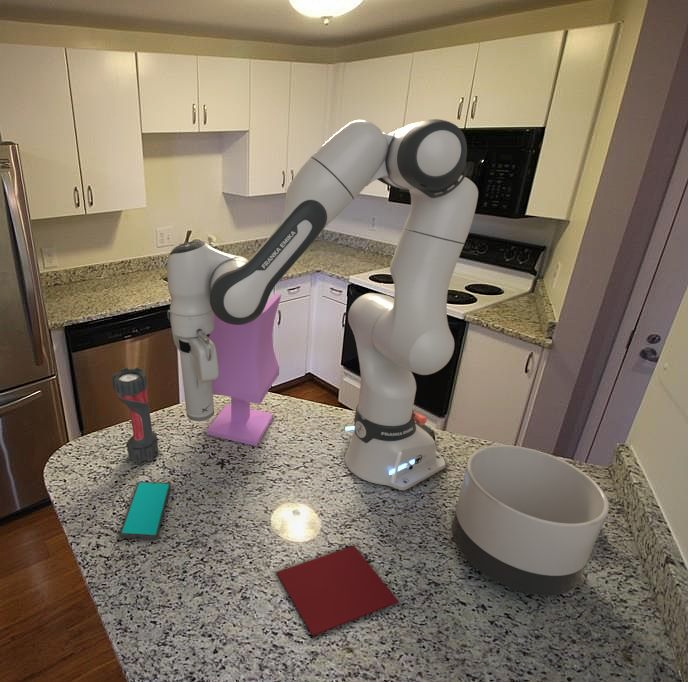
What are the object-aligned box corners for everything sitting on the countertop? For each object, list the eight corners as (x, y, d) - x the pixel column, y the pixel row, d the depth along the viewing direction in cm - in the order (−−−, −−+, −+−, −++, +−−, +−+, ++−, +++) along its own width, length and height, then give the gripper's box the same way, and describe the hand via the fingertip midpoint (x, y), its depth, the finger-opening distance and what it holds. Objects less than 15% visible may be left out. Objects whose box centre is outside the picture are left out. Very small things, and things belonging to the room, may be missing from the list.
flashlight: (116, 461, 111) (104, 377, 102) (136, 443, 117) (127, 362, 108) (141, 471, 108) (132, 385, 98) (161, 453, 114) (154, 370, 104)
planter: (450, 506, 95) (467, 434, 88) (565, 539, 87) (595, 462, 79) (445, 580, 80) (466, 500, 72) (585, 629, 71) (624, 544, 64)
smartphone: (119, 534, 90) (138, 481, 103) (120, 537, 90) (138, 484, 104) (157, 537, 89) (170, 483, 102) (157, 540, 89) (171, 486, 103)
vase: (277, 416, 127) (282, 294, 112) (259, 449, 114) (261, 316, 100) (224, 405, 133) (222, 287, 119) (201, 435, 120) (195, 307, 106)
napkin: (353, 547, 86) (354, 545, 86) (398, 602, 76) (398, 600, 76) (276, 573, 82) (276, 571, 82) (312, 636, 71) (312, 634, 71)
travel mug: (212, 422, 101) (206, 338, 93) (183, 421, 103) (174, 338, 95) (218, 407, 107) (212, 327, 99) (190, 406, 108) (182, 326, 100)
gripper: (225, 337, 88) (227, 400, 93) (192, 304, 105) (195, 359, 111) (193, 343, 86) (197, 407, 91) (165, 309, 103) (170, 364, 109)
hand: (196, 380), depth 101 cm, fingers closed on travel mug, 6 cm apart
